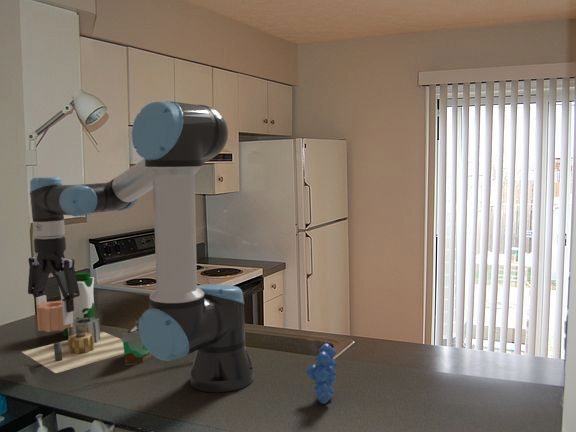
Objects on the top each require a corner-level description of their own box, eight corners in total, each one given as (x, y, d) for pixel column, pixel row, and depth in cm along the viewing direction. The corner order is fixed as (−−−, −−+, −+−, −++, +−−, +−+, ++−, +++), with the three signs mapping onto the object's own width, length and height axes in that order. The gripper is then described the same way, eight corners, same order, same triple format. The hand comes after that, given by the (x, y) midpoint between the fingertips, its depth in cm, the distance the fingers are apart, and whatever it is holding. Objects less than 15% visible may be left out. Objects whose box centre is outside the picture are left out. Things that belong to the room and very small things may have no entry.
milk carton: (86, 341, 166) (82, 276, 164) (58, 341, 167) (53, 276, 165) (100, 332, 175) (96, 270, 173) (73, 332, 176) (69, 270, 174)
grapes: (313, 386, 127) (311, 336, 126) (342, 389, 125) (340, 337, 124) (300, 408, 116) (298, 353, 115) (332, 411, 114) (330, 355, 113)
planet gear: (72, 320, 151) (71, 299, 150) (72, 329, 143) (71, 306, 143) (39, 324, 148) (37, 302, 147) (37, 333, 140) (35, 310, 140)
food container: (148, 372, 140) (145, 333, 139) (124, 372, 140) (121, 334, 139) (160, 355, 152) (158, 319, 151) (138, 355, 152) (136, 320, 151)
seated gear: (105, 339, 162) (104, 319, 162) (79, 347, 156) (78, 326, 155) (89, 334, 168) (88, 315, 167) (63, 342, 161) (62, 322, 160)
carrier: (142, 353, 154) (141, 332, 153) (56, 379, 137) (54, 355, 136) (102, 336, 171) (101, 316, 170) (21, 357, 154) (19, 335, 154)
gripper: (8, 237, 144) (14, 322, 146) (69, 240, 135) (75, 330, 138) (31, 233, 151) (37, 314, 153) (91, 236, 142) (96, 322, 145)
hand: (55, 322), depth 146 cm, fingers closed on planet gear, 8 cm apart
